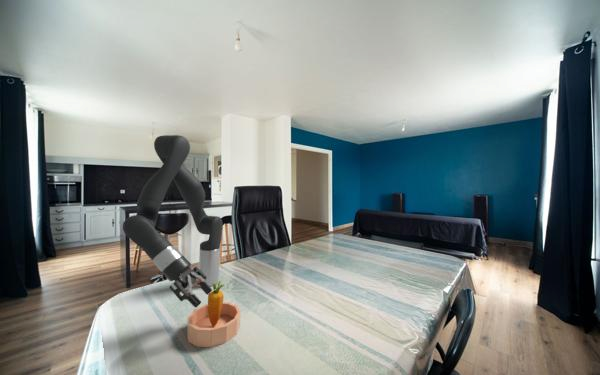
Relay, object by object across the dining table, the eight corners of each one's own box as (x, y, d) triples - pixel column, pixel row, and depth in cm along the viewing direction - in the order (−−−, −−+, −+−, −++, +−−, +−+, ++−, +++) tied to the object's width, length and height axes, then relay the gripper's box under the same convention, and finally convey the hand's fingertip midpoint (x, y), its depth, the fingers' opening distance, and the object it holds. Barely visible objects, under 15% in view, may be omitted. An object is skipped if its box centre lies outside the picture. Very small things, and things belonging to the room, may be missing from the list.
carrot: (216, 320, 76) (219, 277, 76) (224, 326, 72) (227, 281, 73) (202, 326, 72) (205, 281, 72) (210, 333, 69) (213, 285, 69)
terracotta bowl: (201, 315, 80) (202, 301, 80) (244, 316, 80) (245, 303, 80) (176, 345, 64) (177, 328, 64) (230, 347, 64) (231, 330, 64)
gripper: (167, 262, 65) (203, 301, 65) (190, 249, 80) (220, 281, 80) (149, 279, 65) (185, 318, 65) (175, 263, 80) (205, 295, 79)
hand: (204, 298), depth 72 cm, fingers open, 8 cm apart
